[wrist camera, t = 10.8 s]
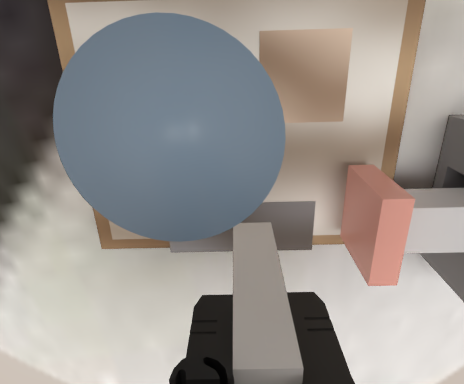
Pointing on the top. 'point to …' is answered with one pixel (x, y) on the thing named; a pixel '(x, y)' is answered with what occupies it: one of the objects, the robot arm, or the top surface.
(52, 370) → the top surface
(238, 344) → the robot arm
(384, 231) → the plunger
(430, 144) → the top surface
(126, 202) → the pale blue cylinder
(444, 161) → the box
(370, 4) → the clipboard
